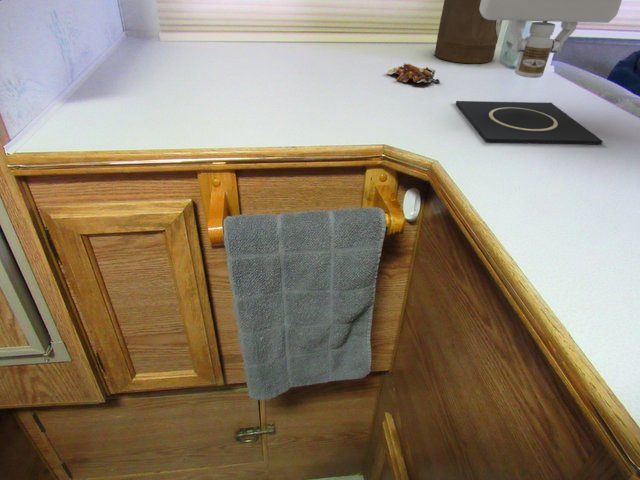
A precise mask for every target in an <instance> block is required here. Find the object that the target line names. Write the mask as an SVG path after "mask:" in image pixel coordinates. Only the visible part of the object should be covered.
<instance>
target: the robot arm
mask: <svg viewBox="0 0 640 480" xmlns="http://www.w3.org/2000/svg"><path fill="white" fill-rule="evenodd" d="M622 2H623V0H481V3H480V13H481V15H482V17H484V18H485V19H488V20H502V21H511V22H510V30H511V34H512V37H513V43H512V46H511V51H512V52H513V53H520V52H524V51H525V46H526V45H527V40H525V38H523V35H522V31H521V30H523V29H525V27H526V24H527V22H557V23H559V22H560V23H561V24H560V28H562V29H561V31H560V32H559V33H557V35H556V36H555V38H550V39H551V40H552V41H553V45H552V48H551V51H550V54H559V53H561V51H562V48H563V45H564V42H566V41H567V40H568V38H570V36H571V35H572V34H573V33H574V32H575V31H576V29H577V25H578V23H597V24H598V23H601V24H607V23H610V22H611V21H612V20H613V19H614V18H616V17H617V15H618V13H619V10H620V7H621V5H622Z"/></svg>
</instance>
